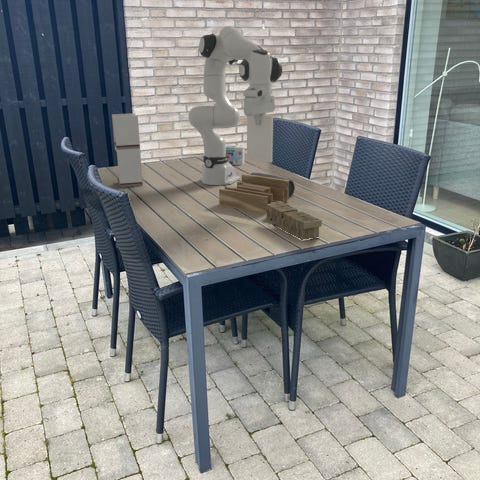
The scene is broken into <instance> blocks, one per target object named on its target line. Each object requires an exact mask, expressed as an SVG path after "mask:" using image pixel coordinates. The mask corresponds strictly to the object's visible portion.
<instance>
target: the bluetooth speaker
mask: <svg viewBox="0 0 480 480" xmlns="http://www.w3.org/2000/svg"><path fill="white" fill-rule="evenodd" d="M249 175H255V176H262V177H269V178H276V179H282V180H289V196H288V198H290V197H292V196H293V195H294V193H295V189H296V185H295V183H294V181H293V180H292V179H289V178H284V177H282V176H281V177H280V176H278V175H272V174H267V173H262V172H261V173H260V172H251V173H250V174H249Z"/></svg>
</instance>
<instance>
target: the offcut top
mask: <svg viewBox="0 0 480 480" xmlns="http://www.w3.org/2000/svg"><path fill="white" fill-rule="evenodd" d="M236 188H238V189H244V190H250V191H256V192H262V193H269V194H270V193H271V188H270V187H264V186H258V185H252V184H246V183H244V184H241V185H238V186H237V185H236Z"/></svg>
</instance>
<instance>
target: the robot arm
mask: <svg viewBox="0 0 480 480" xmlns="http://www.w3.org/2000/svg"><path fill="white" fill-rule="evenodd" d="M198 51H199V54H200V56H202V57H203V58H205V62H204V67H203V68H204V69H203V81H202V82H203V83H202V84H203V89H202V91H203V94H204V96H205V97H206V98H208V99H209V100H212V101H213V102H214V103H215V105H199V106H193V107H192V108H191V109H190V110H189V112H188V117H187V118H188V121H189V123H190V125H191V126H192V127H193V128H194V129H195V130H197V132H199V134H200V136H201V138H202V142H203V153H204V154H203V156H202V157H203V160H202V161H203V165H202V169H201V171H202V174H201V177H200V181H201V183H202V184H203V185H208V186H221V185H222V186H223V185H232V184H233V183H235V182H238V180H240V179H241V177H240V175H237V173H236V168H235V167H234V165H231V164H230V163H229V162H228V159H230V157H231V156H230V155H226V147H227V143H226V140H225V138H224V137H223V136H222V135H220V134H217V133H216V132H215V131H214V129H229V128H235V127H237V126H238V125H239V122H240V119H241V114H240V111H239V110H238V108H237V107H235V105H233V103H231V101H230V99H229V98H228V95H227V88H226V85H227V84H226V65H227V64H229V65H230V66H232V65H233V64H234V63H236V62H239V61H240V63H239V67H238V69H239V70H238V71H239V77H240V78H241V80H243V81H244V82H247V83H249V86H248V87H247V88H246V89H245V90H244V91H243V94H242V95H243V97H244V98H243V114H244V115H245V116H246V117H247V116H254V119H255V125H260V124H261V121H260V120H259V117H260V114H269V113H273V112H274V111H275V105H276V104H275V103H276V102H275V96H274V93H273V91H272V90H271V87H272V85H271V84H272V83H275V82H277V81H278V80H279V79H280V77H282V74H283V65H282V63H281V61H280V60H279V59H278V58H277V57H273V56H272V55H271V54H270V52H269V51H268V50H264V49H263V48H262V47H261V46H260V45H258V44H257V43H255V42H252V41H251V40H250V39H248V38H247V37H246V36H245V35H244V34H243V33H242V32H241V31H240V30H239V29H238V28H236V27H234V26H232V25H226V26H224V27H222V28H221V30H220V31H219V35H217V34H214V33H211V34H205V35H203V36H201V37H200V40H199V44H198ZM227 158H228V159H227Z"/></svg>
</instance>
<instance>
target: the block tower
mask: <svg viewBox="0 0 480 480" xmlns="http://www.w3.org/2000/svg"><path fill="white" fill-rule="evenodd" d="M266 219H267V220H269V221H271V222H273V224H274V225H275V226H277V227H279V228H281V229H282V230H284V231H286V232H288V233H290V234H292V235H294V236H296V237H298V238H300V239H301V240H303V239H309V238H315V237H319V238H320V227H321V228H322V225H323V224H322V223H323V220H322V219H320V218H319V217H315V216H313V215H310V214H309V213H307V212H305V211H298V208H296V207H294V206H292V205H290V204H288V203H283V202H282V201H277V202H271V203H270V204H267V214H266ZM275 226H274V227H275ZM277 227H276V228H277ZM282 230H281V231H282Z"/></svg>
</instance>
